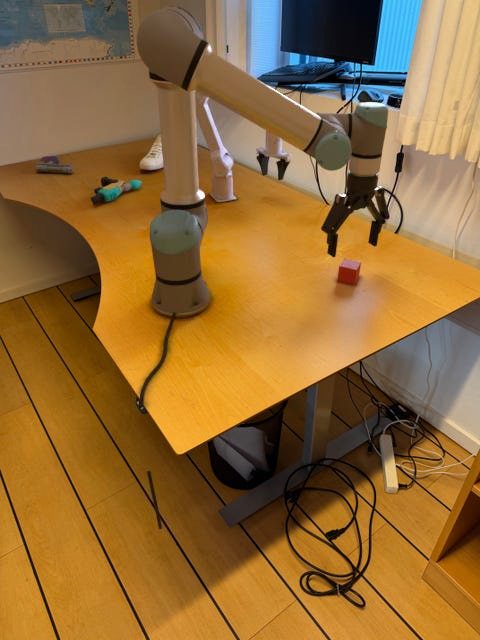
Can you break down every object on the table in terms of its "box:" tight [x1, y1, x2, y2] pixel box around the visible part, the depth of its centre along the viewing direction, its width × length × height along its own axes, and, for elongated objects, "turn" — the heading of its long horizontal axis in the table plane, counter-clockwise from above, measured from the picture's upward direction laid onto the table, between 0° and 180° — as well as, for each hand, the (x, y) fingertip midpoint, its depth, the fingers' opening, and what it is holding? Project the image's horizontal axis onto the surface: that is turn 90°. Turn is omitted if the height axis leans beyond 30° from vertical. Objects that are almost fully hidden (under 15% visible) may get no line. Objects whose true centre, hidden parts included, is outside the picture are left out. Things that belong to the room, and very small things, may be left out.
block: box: [336, 258, 362, 286], centre depth 133 cm, size 5×5×5 cm
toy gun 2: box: [90, 176, 143, 206], centre depth 186 cm, size 4×26×15 cm
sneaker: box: [139, 134, 164, 171], centre depth 214 cm, size 10×29×12 cm, turn 163°
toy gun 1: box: [34, 155, 74, 174], centre depth 213 cm, size 4×19×15 cm
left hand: (352, 249), depth 129 cm, fingers open, 13 cm apart
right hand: (272, 177), depth 175 cm, fingers open, 7 cm apart
